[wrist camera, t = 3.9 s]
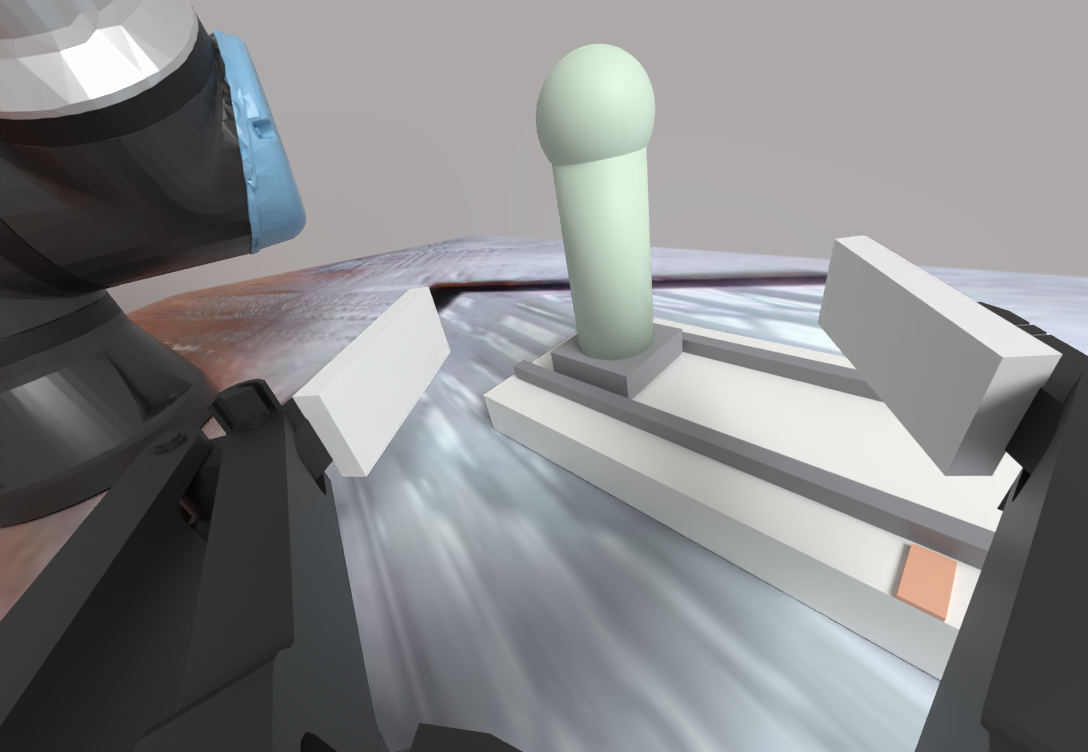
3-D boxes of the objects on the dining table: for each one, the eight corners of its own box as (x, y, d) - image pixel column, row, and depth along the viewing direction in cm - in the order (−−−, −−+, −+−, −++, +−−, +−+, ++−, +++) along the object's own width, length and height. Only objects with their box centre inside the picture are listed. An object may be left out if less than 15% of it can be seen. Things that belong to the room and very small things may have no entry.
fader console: (493, 428, 25) (479, 383, 23) (613, 339, 31) (609, 298, 29) (1361, 917, 8) (1560, 888, 6) (1229, 500, 14) (1307, 427, 12)
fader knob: (554, 374, 24) (494, 65, 16) (609, 334, 26) (580, 55, 19) (628, 402, 20) (597, 30, 13) (682, 352, 23) (683, 24, 15)
